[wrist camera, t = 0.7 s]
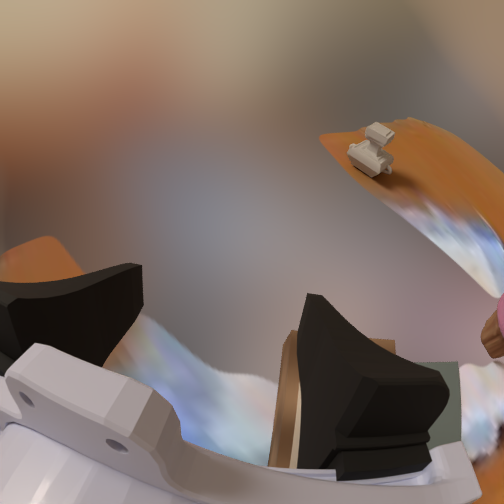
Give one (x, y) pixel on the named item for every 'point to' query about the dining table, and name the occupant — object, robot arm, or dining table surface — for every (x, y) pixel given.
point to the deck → (293, 401)
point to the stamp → (373, 151)
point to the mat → (447, 407)
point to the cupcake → (495, 332)
